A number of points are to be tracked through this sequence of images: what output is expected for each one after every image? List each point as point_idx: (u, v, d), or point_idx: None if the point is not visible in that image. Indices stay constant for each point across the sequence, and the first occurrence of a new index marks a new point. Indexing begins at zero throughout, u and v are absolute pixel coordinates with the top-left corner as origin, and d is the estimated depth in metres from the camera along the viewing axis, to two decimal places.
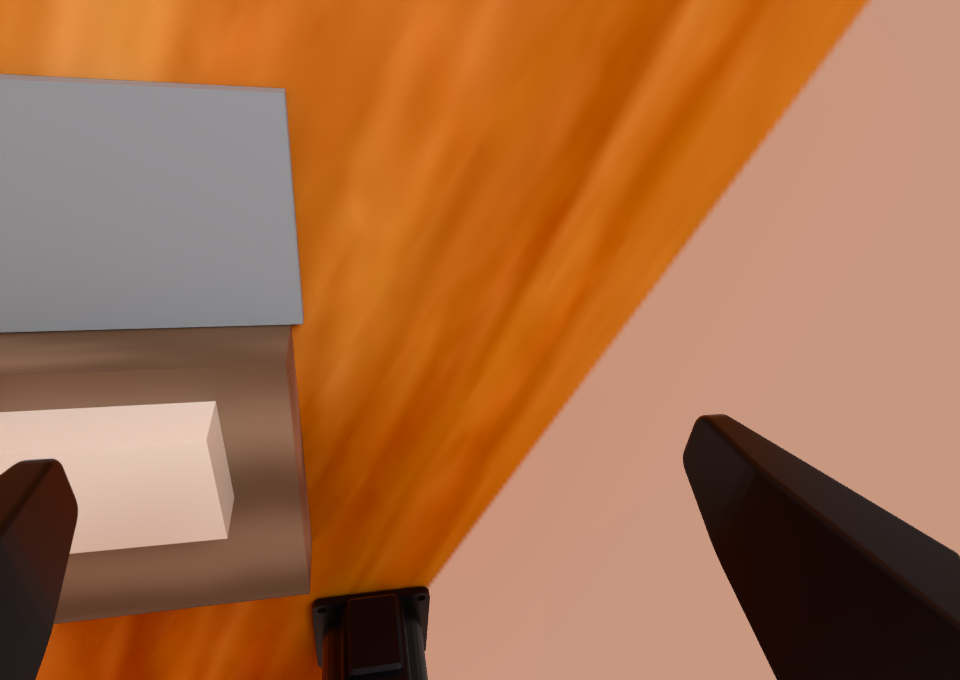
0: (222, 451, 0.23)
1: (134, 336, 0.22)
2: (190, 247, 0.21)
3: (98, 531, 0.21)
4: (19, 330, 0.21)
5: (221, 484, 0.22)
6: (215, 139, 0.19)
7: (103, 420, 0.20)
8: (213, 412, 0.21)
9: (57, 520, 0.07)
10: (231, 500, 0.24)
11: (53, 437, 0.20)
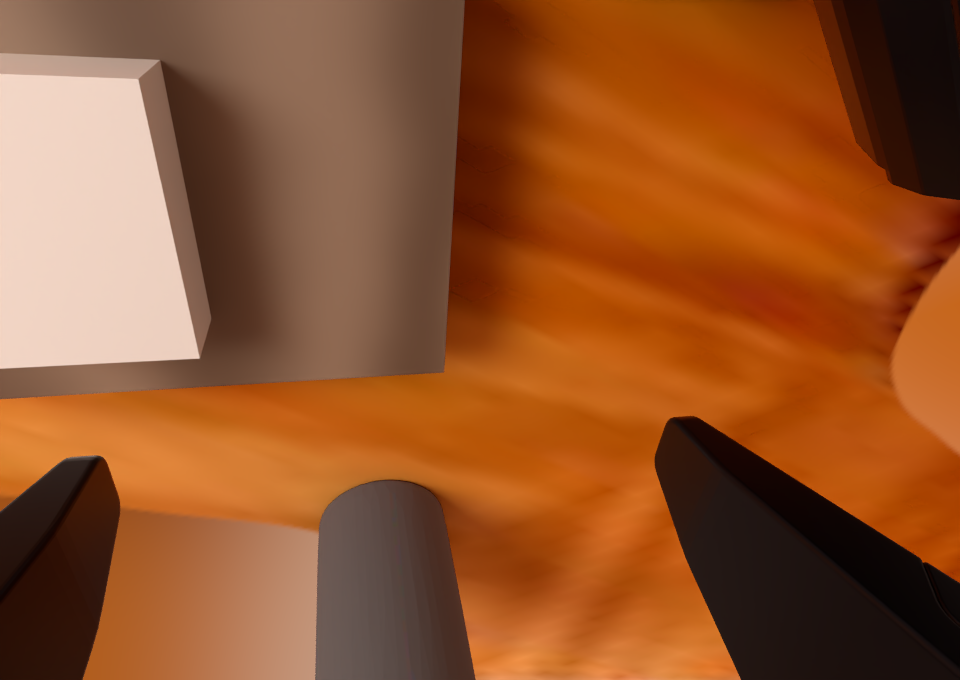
0: (7, 57, 0.13)
1: None
2: None
3: (131, 261, 0.14)
4: None
5: (25, 67, 0.12)
6: None
7: None
8: None
9: (103, 516, 0.08)
10: (139, 63, 0.14)
11: None
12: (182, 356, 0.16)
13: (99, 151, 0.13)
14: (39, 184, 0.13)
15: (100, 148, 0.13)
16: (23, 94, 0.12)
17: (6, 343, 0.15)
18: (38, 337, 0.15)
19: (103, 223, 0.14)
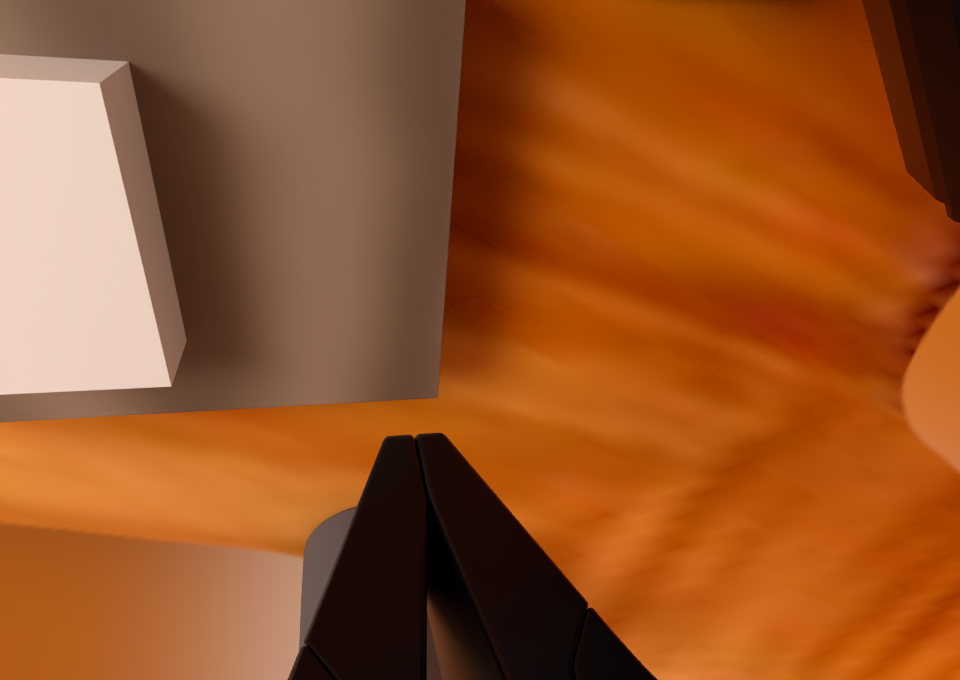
0: None
1: None
2: None
3: (93, 283, 0.13)
4: None
5: None
6: None
7: None
8: None
9: None
10: (104, 65, 0.12)
11: None
12: (152, 384, 0.15)
13: (56, 162, 0.12)
14: None
15: (57, 159, 0.12)
16: None
17: None
18: None
19: (62, 241, 0.12)
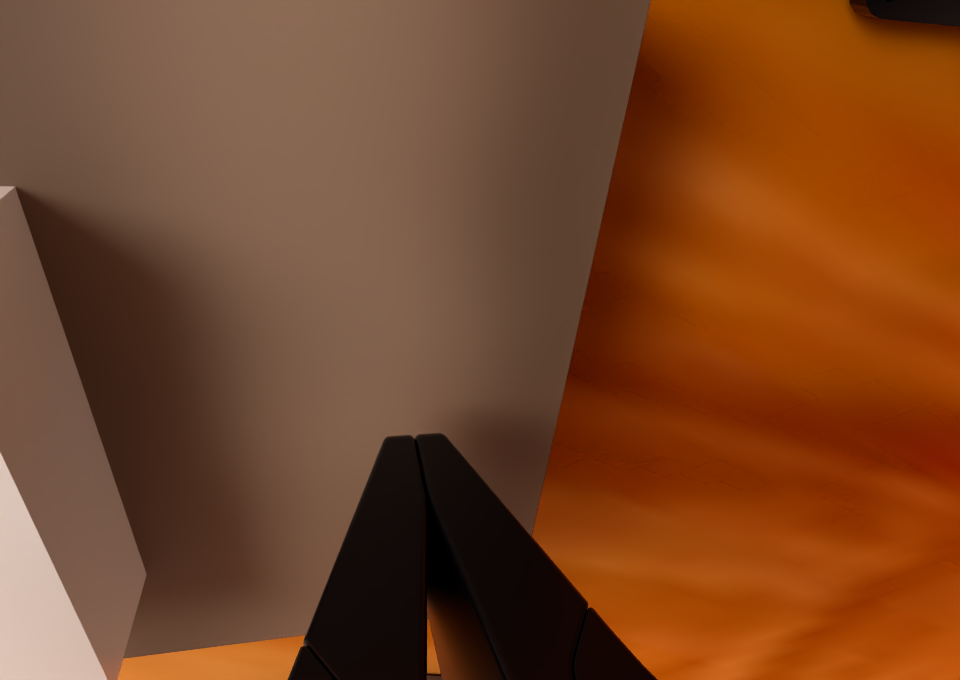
0: None
1: None
2: None
3: None
4: None
5: None
6: None
7: None
8: None
9: None
10: None
11: None
12: None
13: None
14: None
15: None
16: None
17: None
18: None
19: None
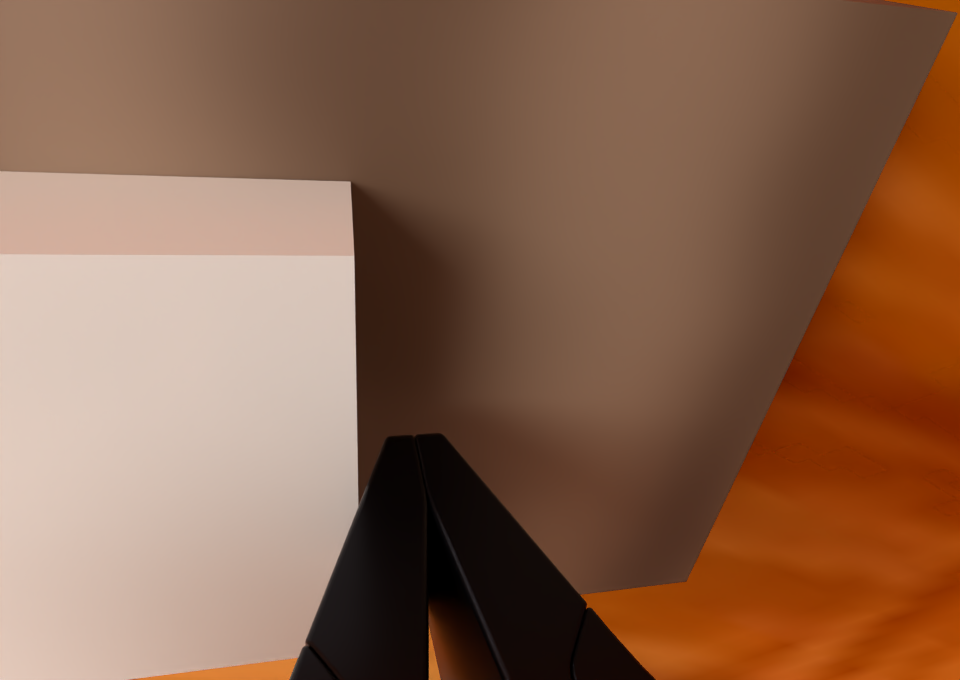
0: (71, 186, 0.07)
1: None
2: None
3: (277, 539, 0.08)
4: None
5: (116, 224, 0.06)
6: None
7: None
8: None
9: None
10: (321, 195, 0.07)
11: None
12: None
13: (253, 381, 0.06)
14: (129, 439, 0.07)
15: (255, 376, 0.06)
16: (115, 291, 0.06)
17: (43, 660, 0.08)
18: (99, 649, 0.09)
19: (239, 490, 0.07)
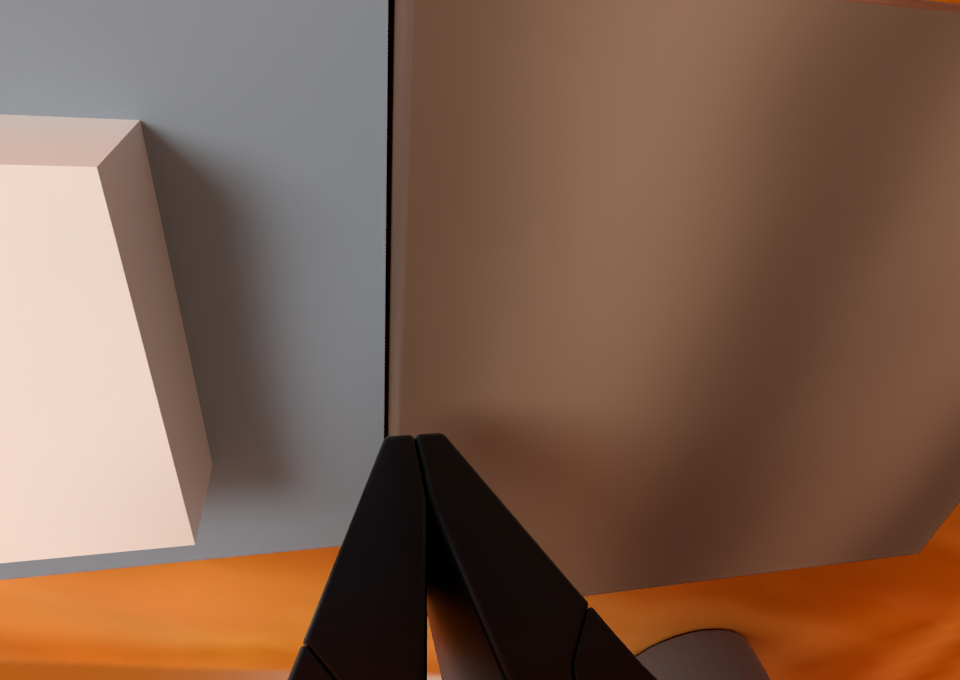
0: None
1: (392, 299, 0.11)
2: (170, 157, 0.09)
3: None
4: (383, 438, 0.13)
5: None
6: None
7: (165, 364, 0.10)
8: (103, 153, 0.08)
9: None
10: None
11: (187, 395, 0.11)
12: None
13: None
14: None
15: None
16: None
17: None
18: None
19: None
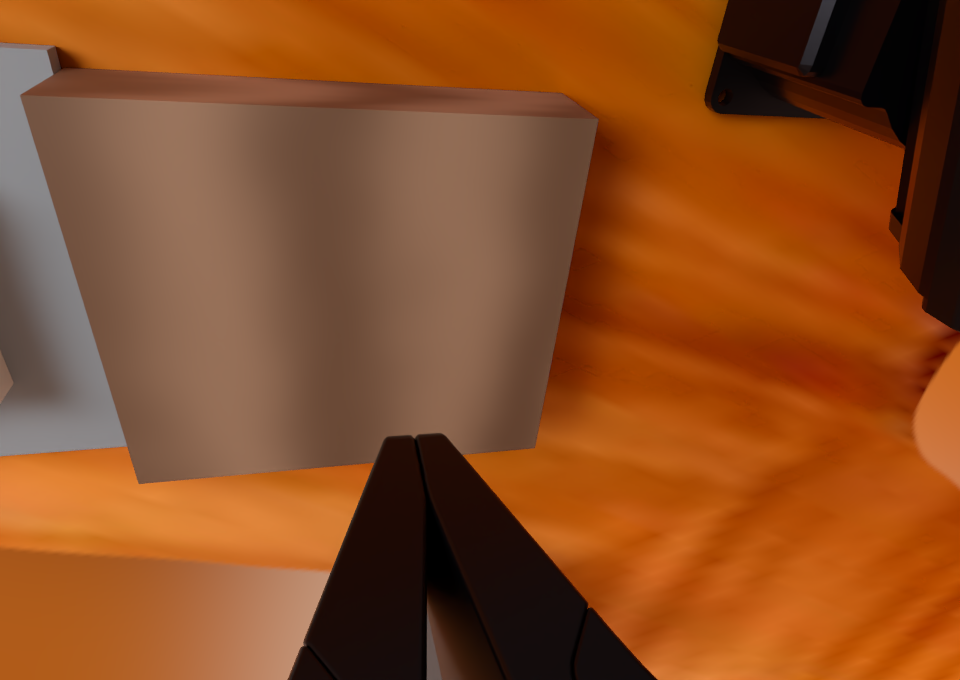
0: None
1: None
2: None
3: None
4: None
5: None
6: None
7: None
8: None
9: None
10: None
11: None
12: None
13: None
14: None
15: None
16: None
17: None
18: None
19: None
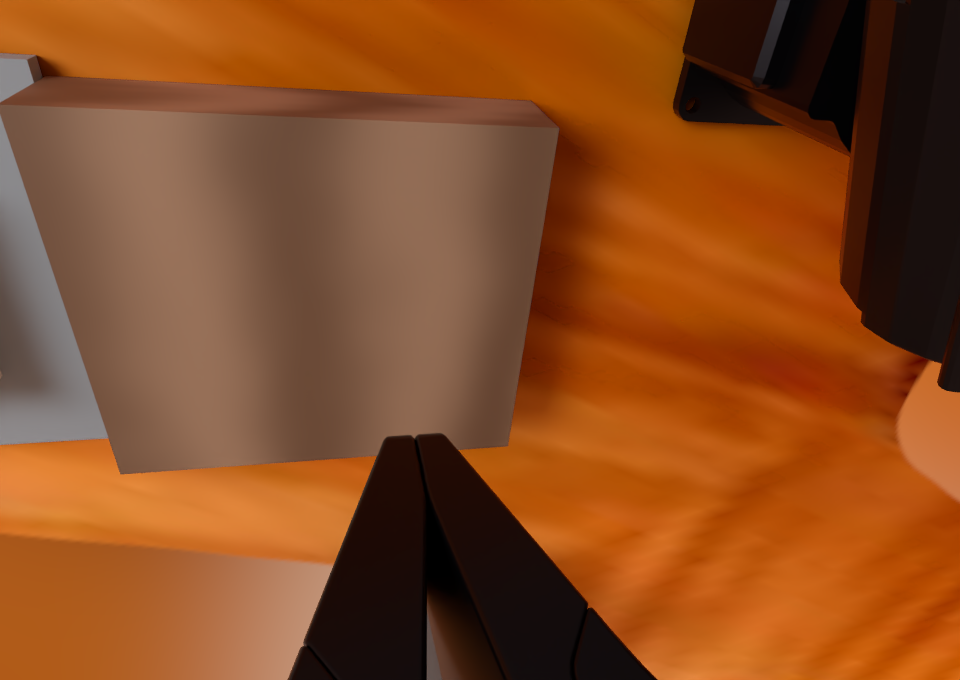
0: None
1: None
2: None
3: None
4: None
5: None
6: None
7: None
8: None
9: None
10: None
11: None
12: None
13: None
14: None
15: None
16: None
17: None
18: None
19: None
